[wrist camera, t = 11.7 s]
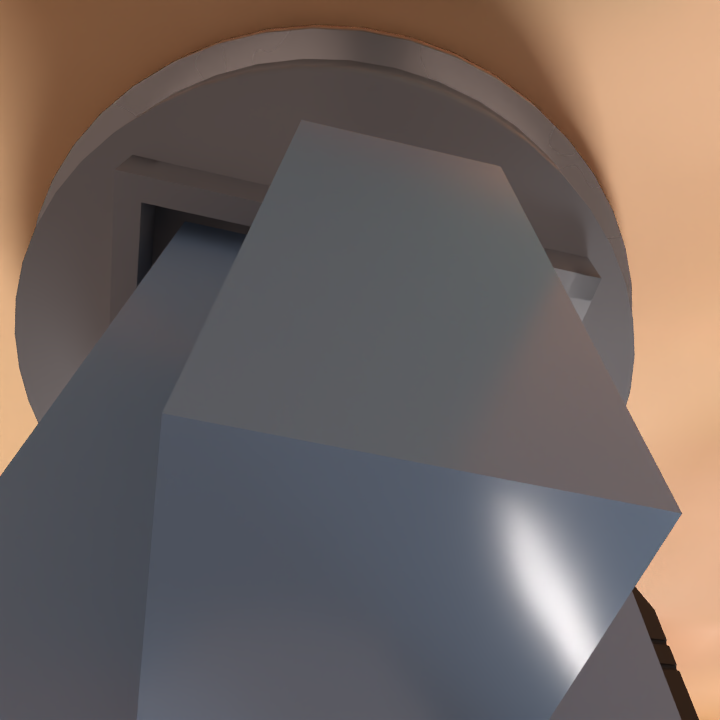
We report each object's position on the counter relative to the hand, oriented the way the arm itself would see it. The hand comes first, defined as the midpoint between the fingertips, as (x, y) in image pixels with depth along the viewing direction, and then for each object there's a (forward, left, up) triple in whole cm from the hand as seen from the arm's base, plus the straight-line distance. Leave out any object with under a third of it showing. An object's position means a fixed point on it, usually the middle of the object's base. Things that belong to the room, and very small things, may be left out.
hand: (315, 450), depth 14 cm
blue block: (-1, 0, -2) cm, 2 cm away
